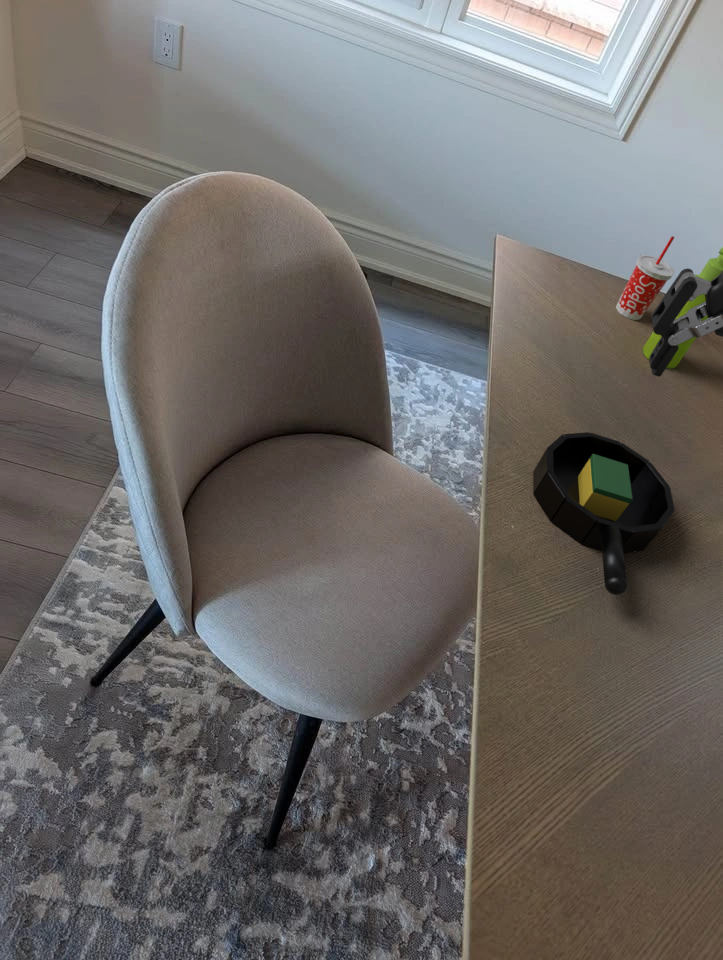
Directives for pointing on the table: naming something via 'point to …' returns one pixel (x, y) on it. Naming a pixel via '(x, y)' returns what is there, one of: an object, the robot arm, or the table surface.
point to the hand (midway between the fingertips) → (694, 383)
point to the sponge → (605, 487)
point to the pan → (613, 538)
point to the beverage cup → (644, 285)
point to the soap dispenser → (708, 273)
